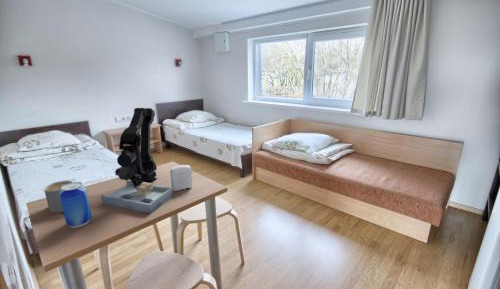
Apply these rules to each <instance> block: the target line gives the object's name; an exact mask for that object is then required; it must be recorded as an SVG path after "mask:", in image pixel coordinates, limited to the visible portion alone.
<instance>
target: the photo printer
mask: <svg viewBox="0 0 500 289" xmlns="http://www.w3.org/2000/svg"><path fill="white" fill-rule="evenodd" d="M169 173H170V185H171V186H170V188H172V190H173V192H176V191H182V189H183V190H187V189H186V188H189V189H191V188H190V187H192V188H193V176H192V168H191V165H187V164H180V165H176V166H173V167H171V168H170V172H169Z"/></svg>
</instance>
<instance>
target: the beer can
mask: <svg viewBox="0 0 500 289" xmlns="http://www.w3.org/2000/svg"><path fill="white" fill-rule="evenodd" d="M71 182H72V183H68V184H66V185H64V186H62V187H61V191H60V194H59V195H60V200H61V204H62V208H63V212H62V213H63V215H64V220H65V224H66V226H68V227H69V228H71V229H78V228H81V227H84V226H86V225H88V224H89V223H90V222H91V220H92V218H93V215H92V210H91V205H90V200H89V195H88V191H87V188H86V186H84V185H83V183H82V182H80V181H71Z"/></svg>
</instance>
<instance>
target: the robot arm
mask: <svg viewBox="0 0 500 289" xmlns="http://www.w3.org/2000/svg"><path fill="white" fill-rule="evenodd" d="M155 116H156V112H155V110H154V109H153V108H151V107H146V108H145V107H135V108H134V110H133V115H132V118H131V120H130V123H129V125H128V127H127V128H125V129H124V130H123V132H122V133H121V135H120V138H119V147H118V150H121V151H120V154H119V156H117V159H116V161H117V164H118V166H120V167H118V168H116V169H115V171H114V172H115V176H118V179H119V180H123V181H127V180H128V181H132V183H133V185H134V186H135V188H136V186H138V185H140V184H141V183H143V182H146V183H153V182H154V181H156V180H157V179H158V177H157V169H158V168H157V167H158V166H157V163H156V162H155V160H154V157H153V155H152V153H151V125H152V124H153V122H154V120H155ZM136 190H137V188H136Z"/></svg>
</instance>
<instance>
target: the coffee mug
mask: <svg viewBox="0 0 500 289" xmlns="http://www.w3.org/2000/svg"><path fill="white" fill-rule="evenodd" d="M72 182H73V181H72V180H62V181H61V180H60V181H55V182H52V183H50V184H48V185H46V186H44V188H43V191H44V196H45V198H46V202H47V207H48V210H49V212H51V213H54V214H55V213H56V214H58V213H64V212H63V208H62V204H61V200H60V195H59V194H60V191H61V187H62V186H64V185H66V184H68V183H72Z"/></svg>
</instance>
